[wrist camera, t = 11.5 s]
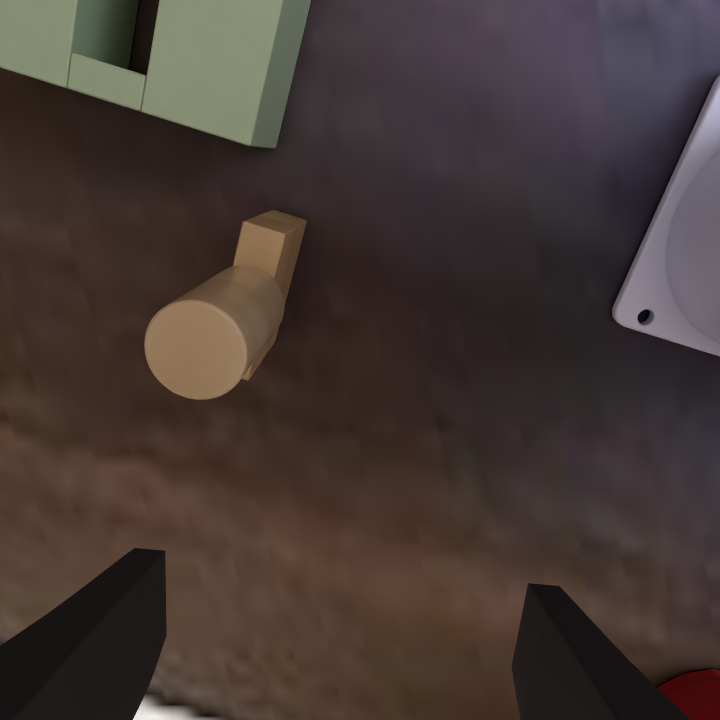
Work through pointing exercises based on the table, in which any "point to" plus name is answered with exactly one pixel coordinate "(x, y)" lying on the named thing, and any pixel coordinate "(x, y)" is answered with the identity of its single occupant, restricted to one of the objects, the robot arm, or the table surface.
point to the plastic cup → (695, 694)
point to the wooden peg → (228, 313)
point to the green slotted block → (167, 58)
